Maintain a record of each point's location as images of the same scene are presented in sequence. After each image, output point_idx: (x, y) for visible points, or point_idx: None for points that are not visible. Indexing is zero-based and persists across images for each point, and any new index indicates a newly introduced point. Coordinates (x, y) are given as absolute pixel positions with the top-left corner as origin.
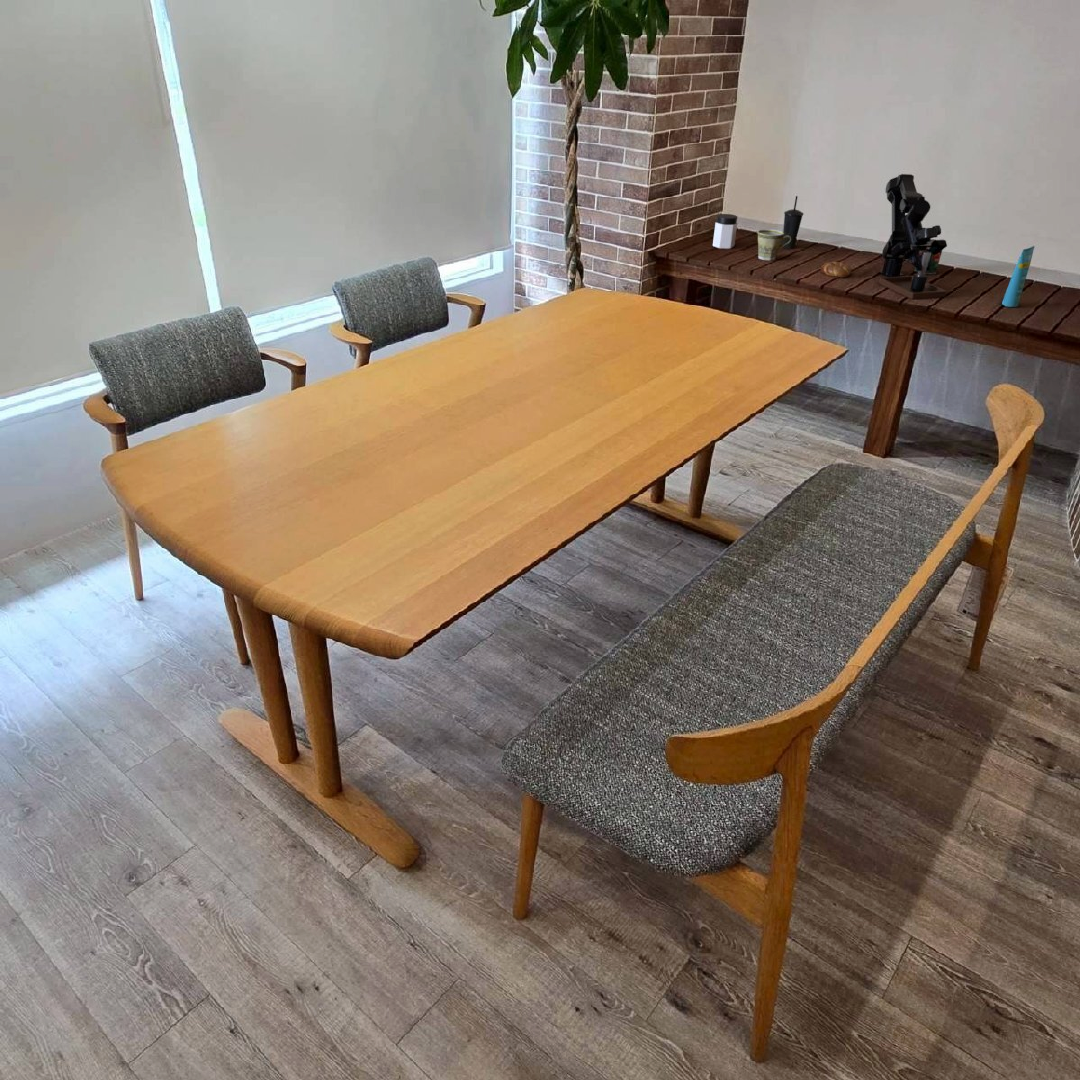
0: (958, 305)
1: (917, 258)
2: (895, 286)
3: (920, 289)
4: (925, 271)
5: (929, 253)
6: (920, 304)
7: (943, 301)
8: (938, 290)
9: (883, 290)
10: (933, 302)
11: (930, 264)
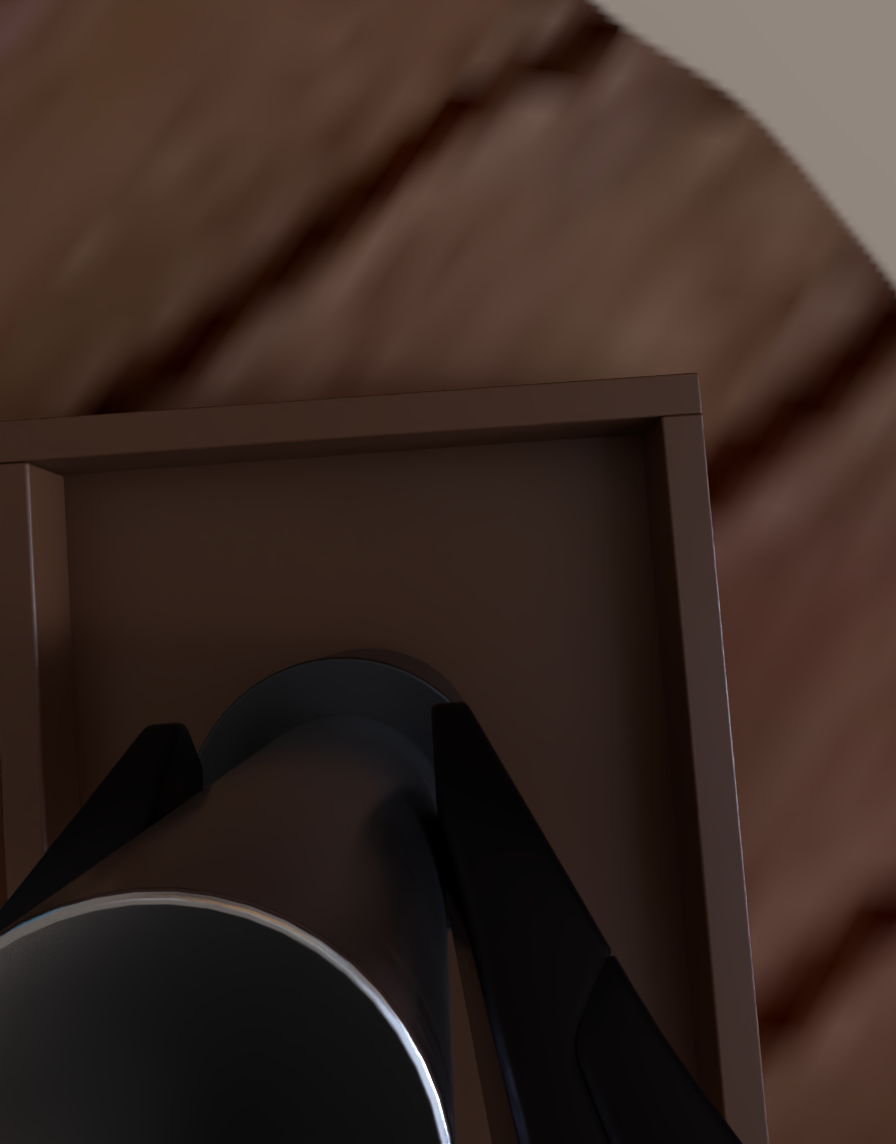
0: (103, 14)
1: (648, 1045)
2: (741, 895)
3: (378, 649)
4: (287, 736)
5: (145, 880)
6: (673, 145)
7: (216, 229)
8: (51, 592)
9: (882, 928)
10: (408, 206)
11: (66, 836)
